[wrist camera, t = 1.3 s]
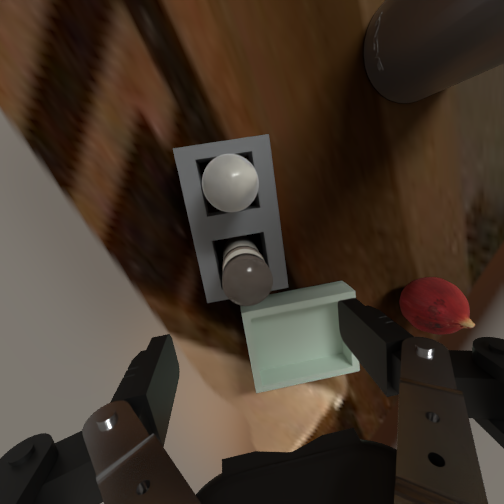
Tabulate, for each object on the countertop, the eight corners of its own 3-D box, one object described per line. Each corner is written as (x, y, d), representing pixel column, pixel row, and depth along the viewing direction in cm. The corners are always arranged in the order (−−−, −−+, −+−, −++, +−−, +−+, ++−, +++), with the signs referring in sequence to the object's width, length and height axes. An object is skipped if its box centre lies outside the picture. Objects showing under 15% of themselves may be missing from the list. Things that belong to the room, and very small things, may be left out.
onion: (390, 320, 31) (445, 363, 24) (379, 280, 30) (434, 312, 22) (434, 301, 31) (502, 338, 24) (425, 260, 30) (495, 286, 22)
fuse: (243, 162, 25) (254, 149, 16) (249, 200, 26) (262, 207, 17) (206, 168, 25) (196, 158, 16) (213, 206, 26) (208, 216, 17)
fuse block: (262, 141, 25) (268, 134, 21) (280, 275, 28) (288, 287, 25) (179, 154, 24) (172, 148, 21) (209, 289, 28) (207, 303, 24)
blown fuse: (254, 232, 27) (269, 253, 18) (259, 265, 28) (276, 300, 19) (219, 238, 26) (217, 263, 18) (226, 271, 27) (227, 310, 19)
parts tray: (342, 280, 29) (355, 290, 26) (347, 354, 32) (359, 370, 29) (239, 300, 28) (241, 313, 26) (253, 374, 31) (256, 393, 28)
